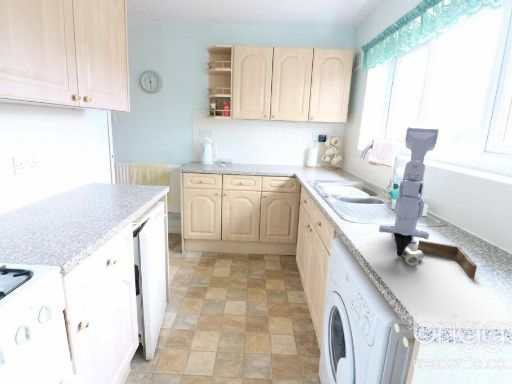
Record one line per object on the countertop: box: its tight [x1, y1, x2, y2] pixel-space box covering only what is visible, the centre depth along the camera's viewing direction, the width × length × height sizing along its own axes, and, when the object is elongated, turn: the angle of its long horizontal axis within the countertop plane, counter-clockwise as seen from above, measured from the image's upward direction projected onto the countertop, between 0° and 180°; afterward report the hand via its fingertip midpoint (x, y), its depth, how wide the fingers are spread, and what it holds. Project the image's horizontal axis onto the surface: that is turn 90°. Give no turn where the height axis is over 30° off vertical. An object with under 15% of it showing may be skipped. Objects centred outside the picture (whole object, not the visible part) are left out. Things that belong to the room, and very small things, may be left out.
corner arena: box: [417, 239, 478, 279], centre depth 94 cm, size 16×13×4 cm
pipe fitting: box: [402, 245, 425, 267], centre depth 95 cm, size 8×4×7 cm
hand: (399, 255), depth 96 cm, fingers closed
